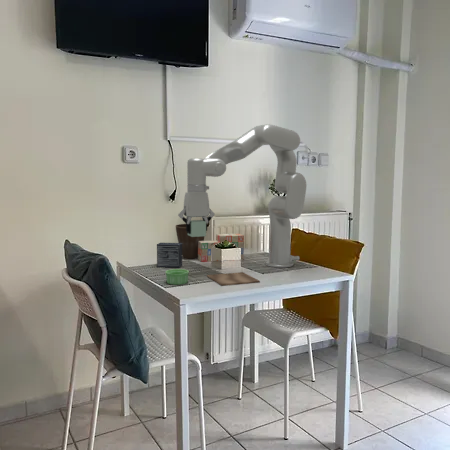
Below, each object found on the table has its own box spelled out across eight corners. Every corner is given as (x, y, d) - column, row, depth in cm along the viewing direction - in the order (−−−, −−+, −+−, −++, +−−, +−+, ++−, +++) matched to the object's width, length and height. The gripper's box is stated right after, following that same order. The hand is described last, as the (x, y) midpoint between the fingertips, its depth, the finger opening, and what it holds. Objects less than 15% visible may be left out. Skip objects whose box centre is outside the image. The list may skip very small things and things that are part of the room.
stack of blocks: (201, 262, 213) (201, 236, 212) (197, 259, 219) (197, 234, 218) (243, 260, 220) (244, 234, 218) (239, 257, 226) (239, 233, 224)
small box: (182, 265, 206) (182, 242, 205) (180, 268, 200) (180, 244, 198) (160, 264, 207) (159, 241, 206) (156, 267, 201) (156, 244, 199)
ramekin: (183, 278, 181) (183, 268, 180) (192, 283, 173) (192, 272, 172) (162, 281, 177) (162, 270, 176) (170, 286, 169) (170, 274, 168)
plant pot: (205, 260, 217) (205, 227, 215) (174, 260, 216) (174, 227, 214) (206, 254, 231) (206, 223, 229) (176, 254, 231) (176, 223, 229)
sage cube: (201, 234, 191) (201, 220, 190) (205, 236, 185) (206, 221, 184) (187, 234, 189) (187, 220, 188) (191, 236, 183) (191, 222, 182)
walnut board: (242, 273, 191) (242, 272, 191) (259, 282, 176) (259, 280, 176) (206, 276, 185) (207, 275, 185) (221, 285, 170) (221, 284, 170)
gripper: (213, 188, 191) (213, 230, 193) (173, 188, 185) (173, 232, 187) (219, 189, 184) (219, 233, 186) (178, 189, 178) (178, 235, 180)
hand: (196, 232), depth 187 cm, fingers closed on sage cube, 6 cm apart
